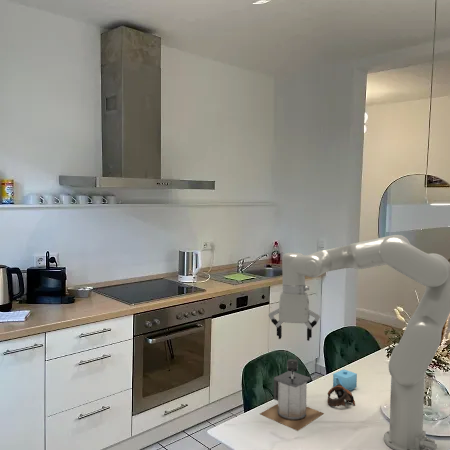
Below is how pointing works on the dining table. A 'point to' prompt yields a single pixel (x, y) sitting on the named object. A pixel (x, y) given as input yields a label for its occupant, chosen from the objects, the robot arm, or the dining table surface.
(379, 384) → the dining table surface
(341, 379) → the blue square teapot
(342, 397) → the brown curved piece
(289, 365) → the plunger
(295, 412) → the press carafe
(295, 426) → the walnut board
